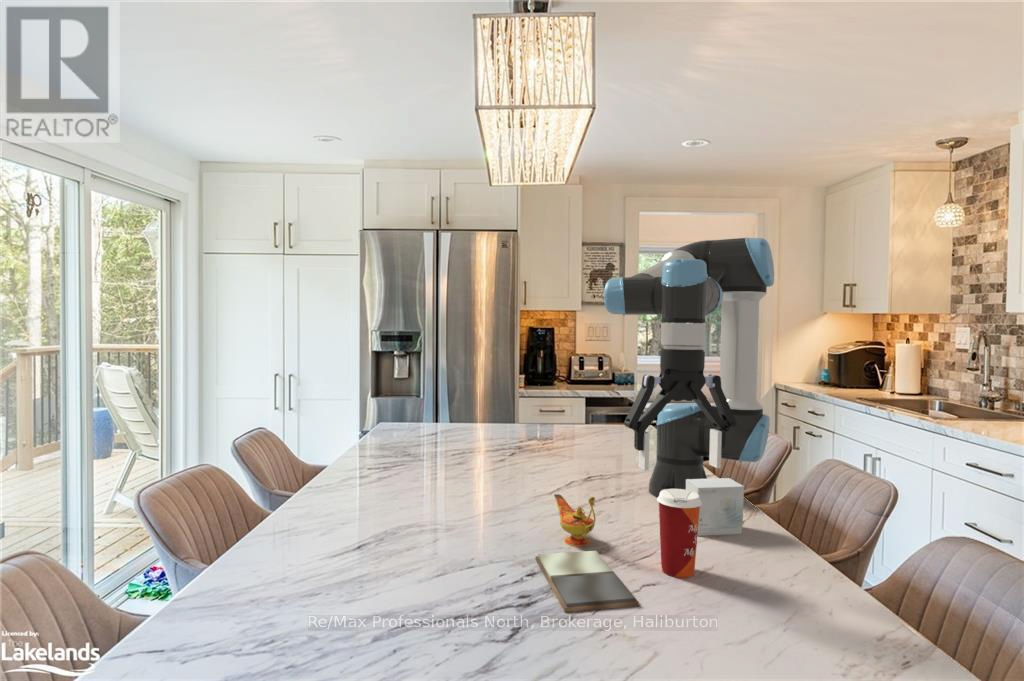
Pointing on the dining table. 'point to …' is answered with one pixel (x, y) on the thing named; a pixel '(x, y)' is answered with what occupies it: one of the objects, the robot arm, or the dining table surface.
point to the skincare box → (718, 505)
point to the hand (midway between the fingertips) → (679, 467)
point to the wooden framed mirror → (584, 581)
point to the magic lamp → (575, 522)
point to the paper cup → (678, 531)
